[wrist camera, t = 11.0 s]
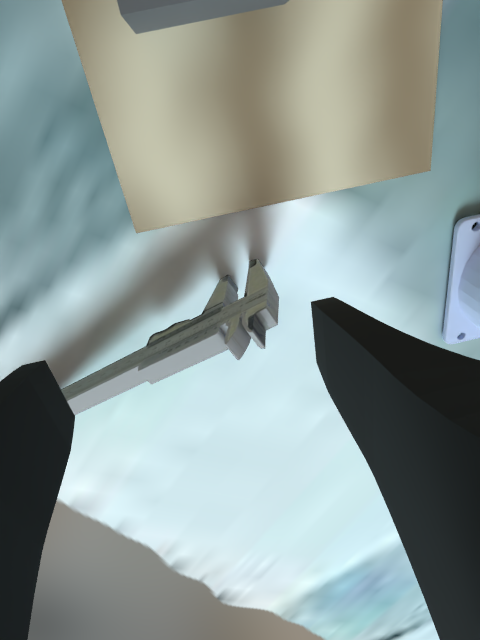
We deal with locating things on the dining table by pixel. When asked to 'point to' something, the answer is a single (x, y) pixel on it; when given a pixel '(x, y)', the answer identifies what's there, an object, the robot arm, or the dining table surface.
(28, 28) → the dining table surface
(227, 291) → the caliper
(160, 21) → the collar
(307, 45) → the post board
